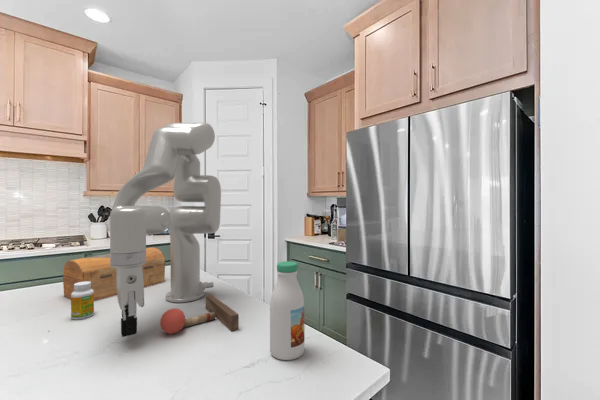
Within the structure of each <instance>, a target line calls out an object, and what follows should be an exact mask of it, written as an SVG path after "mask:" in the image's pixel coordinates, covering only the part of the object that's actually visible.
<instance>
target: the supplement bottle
mask: <svg viewBox="0 0 600 400" xmlns="http://www.w3.org/2000/svg"><path fill="white" fill-rule="evenodd" d="M90 287H91V282H89V281H85V282H78V283H75V284H74V290H75V291H74V292H72V294H71V299H70V318H71V320H74V321H75V320H85V319H88V318H91V317H92V316H94V314H95V301H94V290H93V289H90Z"/></svg>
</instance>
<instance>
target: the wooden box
mask: <svg viewBox="0 0 600 400" xmlns="http://www.w3.org/2000/svg"><path fill="white" fill-rule="evenodd" d="M142 270H143V282H144V288H147V286H148V287H151V285H152V286H155V285H158V283H159V284H163V283H165V275H166V273H165V272H166V257H165V256H164V254H163V252H162V251H161V249H159V248H157V247H146V264H144V265H142ZM85 281H89V282H91V287H90V289H93V290H94V302H96V301H100V300H103V299H107V298H111V297H114V296H117V287H116V268H112V267H110V253H106V254H98V255H94V256H88V257H87V256H86V257H82V258H77V259H70V260H68V261H66V262H65V264H64V266H63V276H62V285H63V297H64V298H66V299H69V300H71V294H72V292H74V291H75V290H74V284H75V283H78V282H85ZM162 282H163V283H162Z"/></svg>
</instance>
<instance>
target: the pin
mask: <svg viewBox="0 0 600 400" xmlns="http://www.w3.org/2000/svg"><path fill="white" fill-rule="evenodd" d="M216 319H217V318H216V315H215V312H211V313H210V312H207V313H204V314H199V315H196V316H192V317H189V318H185V324H184V326H183V328H187V327H190V326H195V325H198V324H202V323H206V322H210V321H212V320H216ZM183 328H182V329H183Z"/></svg>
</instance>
